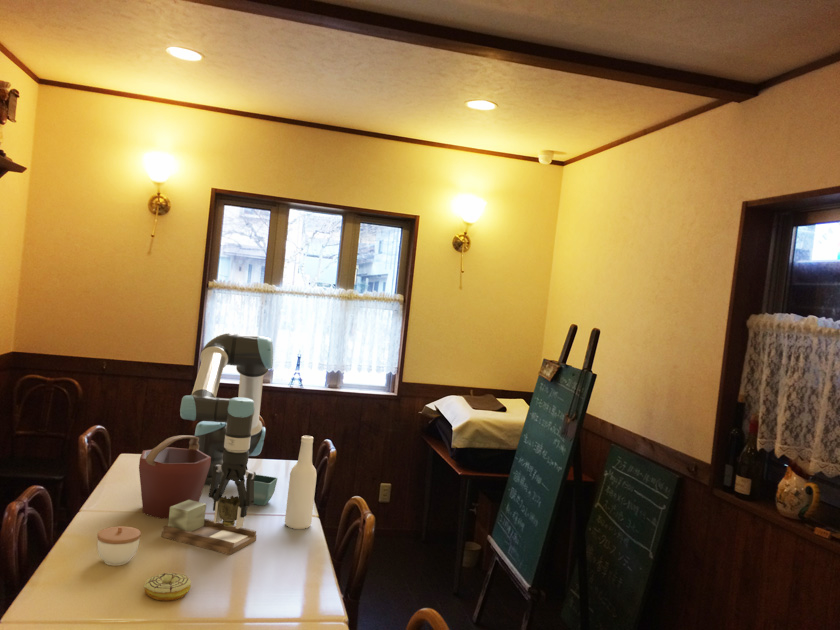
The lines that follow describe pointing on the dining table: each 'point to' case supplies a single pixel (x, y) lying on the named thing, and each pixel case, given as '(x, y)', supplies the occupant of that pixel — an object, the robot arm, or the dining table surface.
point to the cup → (228, 510)
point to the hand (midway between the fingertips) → (228, 524)
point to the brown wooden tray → (204, 529)
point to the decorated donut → (167, 586)
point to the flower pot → (263, 489)
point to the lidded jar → (118, 544)
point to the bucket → (172, 475)
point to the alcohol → (301, 488)
